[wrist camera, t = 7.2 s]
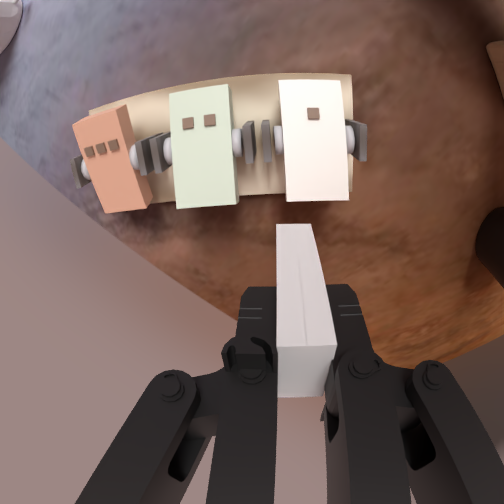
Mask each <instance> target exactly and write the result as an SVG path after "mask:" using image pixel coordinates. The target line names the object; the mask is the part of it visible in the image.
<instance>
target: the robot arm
mask: <svg viewBox="0 0 504 504" xmlns="http://www.w3.org/2000/svg"><path fill="white" fill-rule="evenodd" d="M276 242H277V287H248V288H247V290H246V291H245V292H244V294H243V295H242V296H241V302H240V310H239V316H238V322H237V329H236V336H235V337H234V338H231V339H230V340H229V341H228V342H227V343H226V344H225V345H224V347H223V350H222V352H221V355H222V359H223V362H224V367H223V368H222V369H220V370H218V371H217V372H214V373H211V374H207V375H202V376H197V377H191V376H190V375H189V374H187V373H185V372H183V371H179V370H168V371H164V372H162V373H160V374H158V375H156V376H155V377H154V378H153V380H152V381H151V382H150V383H149V385H148V386H147V388H146V389H145V391H144V392H143V394H142V396H141V397H140V399H139V400H138V402H137V404H136V405H135V407H134V408H133V410H132V411H131V413H130V415H129V416H128V418H127V419H126V421H125V423H124V424H123V426H122V427H121V429H120V431H119V432H118V434H117V435H116V437H115V439H114V440H113V442H112V443H111V445H110V447H109V448H108V450H107V452H106V453H105V455H104V456H103V458H102V460H101V461H100V463H99V464H98V466H97V468H96V470H95V471H94V473H93V474H92V476H91V478H90V479H89V481H88V483H87V484H86V486H85V488H84V489H83V491H82V493H81V495H80V496H79V498H78V499H77V501H76V503H75V504H180V502H181V500H182V498H183V496H184V494H185V492H186V490H187V488H188V486H189V484H190V482H191V480H192V477H193V476H194V474H195V471H196V469H197V467H198V465H199V463H200V461H201V459H202V457H203V455H204V452H205V450H206V448H207V446H208V444H209V442H210V440H211V437H212V436H216V438H215V444H214V451H213V458H212V464H211V471H210V478H209V485H208V492H207V498H206V504H274V487H275V464H276V437H277V436H276V435H277V398H284V397H285V398H287V397H316V396H323V393H324V390H325V398H326V403H325V406H324V409H323V411H322V414H321V419H320V421H324V426H325V441H326V442H325V443H326V464H327V504H411V496H410V488H411V490H412V493H413V495H414V498H415V500H416V503H417V504H504V465H503V463H502V461H501V459H500V457H499V455H498V453H497V451H496V449H495V447H494V445H493V443H492V441H491V439H490V437H489V435H488V433H487V431H486V430H485V428H484V426H483V424H482V422H481V421H480V419H479V417H478V416H477V414H476V412H475V410H474V409H473V407H472V405H471V403H470V402H469V400H468V399H467V397H466V395H465V394H464V392H463V390H462V389H461V388H460V386H459V384H458V383H457V381H456V380H455V378H454V376H453V375H452V373H451V372H450V370H449V369H448V368H447V367H446V366H445V365H444V364H442V363H440V362H438V361H433V360H427V361H423V362H421V363H420V364H418V365H417V366H416V367H415V369H407V368H400V367H395V366H391V365H388V364H386V363H385V362H383V360H382V358H380V357H379V356H378V355H377V354H376V353H374V350H373V348H372V345H371V341H370V338H369V334H368V331H367V327H366V324H365V321H364V317H363V315H362V311H361V308H360V306H359V302H358V298H357V295H356V293H355V292H354V291H353V290H352V289H351V288H350V286H349V285H348V284H334V285H325V281H324V277H323V272H322V268H321V264H320V259H319V255H318V251H317V247H316V243H315V239H314V235H313V231H312V227H311V224H276ZM409 486H410V487H409Z"/></svg>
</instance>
